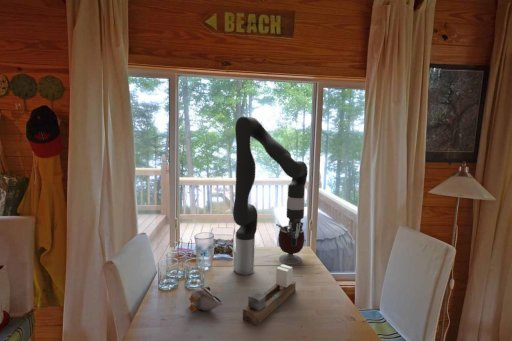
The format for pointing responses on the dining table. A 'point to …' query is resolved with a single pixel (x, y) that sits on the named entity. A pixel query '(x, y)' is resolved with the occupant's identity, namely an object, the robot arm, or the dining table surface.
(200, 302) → the decorative duck model
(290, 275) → the block
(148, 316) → the dining table surface
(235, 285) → the dining table surface
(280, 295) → the beam
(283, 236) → the mate gourd
